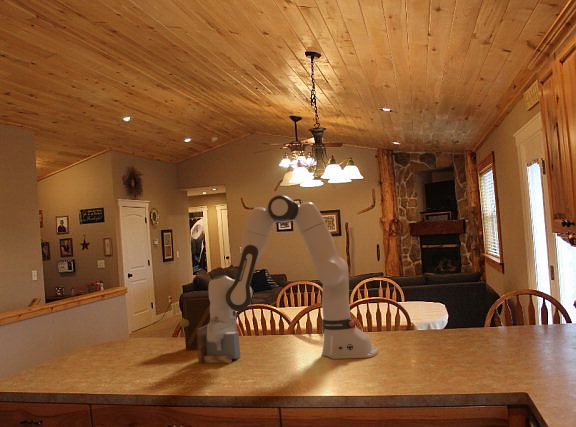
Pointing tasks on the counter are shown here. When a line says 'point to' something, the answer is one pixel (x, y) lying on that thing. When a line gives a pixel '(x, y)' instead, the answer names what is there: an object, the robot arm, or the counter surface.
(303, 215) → the robot arm
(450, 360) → the counter surface
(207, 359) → the wooden display stand
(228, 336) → the box book
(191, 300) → the book
